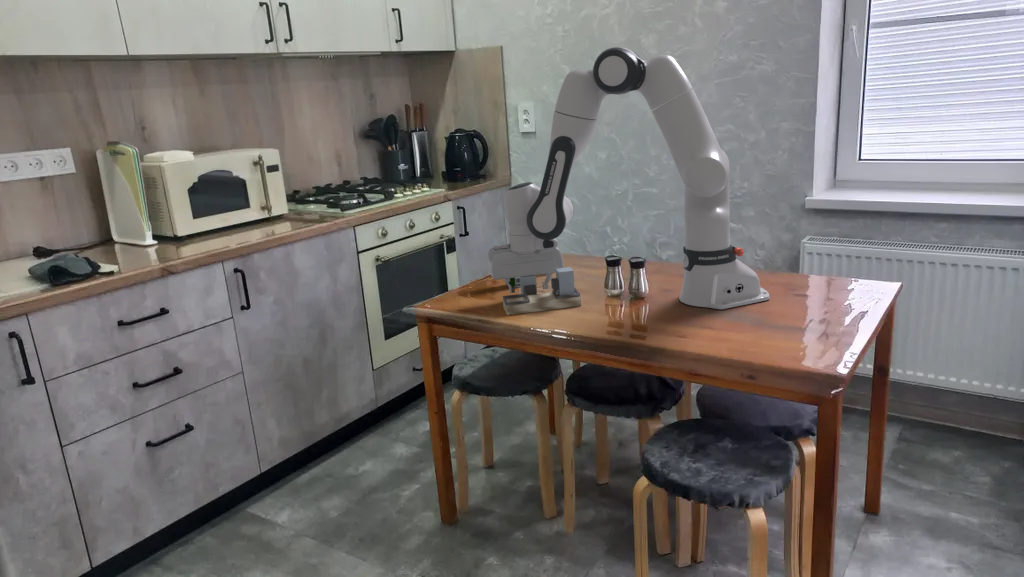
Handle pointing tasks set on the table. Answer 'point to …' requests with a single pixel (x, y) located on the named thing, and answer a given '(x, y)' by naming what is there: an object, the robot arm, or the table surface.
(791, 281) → the table surface
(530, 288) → the block
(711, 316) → the table surface
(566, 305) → the rail
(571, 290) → the block
